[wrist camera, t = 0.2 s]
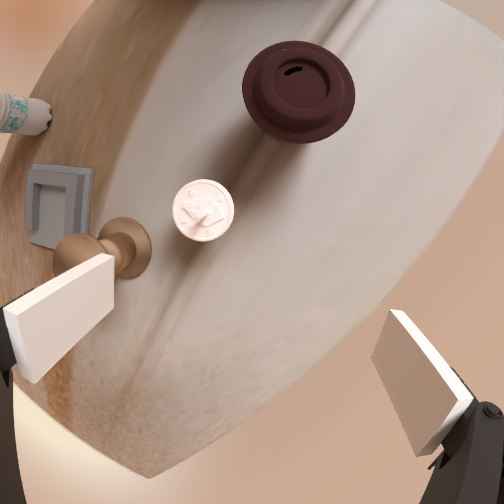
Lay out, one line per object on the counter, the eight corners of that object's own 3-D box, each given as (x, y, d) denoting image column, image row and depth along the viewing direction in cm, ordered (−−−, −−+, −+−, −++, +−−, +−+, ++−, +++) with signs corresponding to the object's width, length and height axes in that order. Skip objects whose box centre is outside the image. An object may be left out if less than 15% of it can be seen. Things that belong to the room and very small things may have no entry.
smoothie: (233, 232, 39) (214, 263, 25) (189, 217, 39) (148, 240, 25) (248, 186, 37) (236, 192, 24) (202, 172, 37) (166, 171, 24)
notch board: (36, 163, 38) (24, 163, 35) (94, 168, 38) (83, 169, 35) (32, 240, 42) (21, 244, 39) (87, 256, 41) (77, 261, 38)
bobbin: (102, 213, 39) (52, 228, 28) (154, 223, 39) (113, 242, 28) (99, 268, 42) (55, 297, 30) (149, 282, 42) (111, 317, 30)
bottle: (60, 99, 35) (-29, 80, 16) (51, 137, 37) (-41, 134, 17) (36, 101, 35) (-47, 88, 16) (28, 136, 37) (-57, 136, 17)
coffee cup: (322, 159, 36) (354, 150, 21) (247, 147, 36) (232, 130, 22) (331, 90, 33) (363, 46, 19) (257, 78, 33) (249, 26, 19)
